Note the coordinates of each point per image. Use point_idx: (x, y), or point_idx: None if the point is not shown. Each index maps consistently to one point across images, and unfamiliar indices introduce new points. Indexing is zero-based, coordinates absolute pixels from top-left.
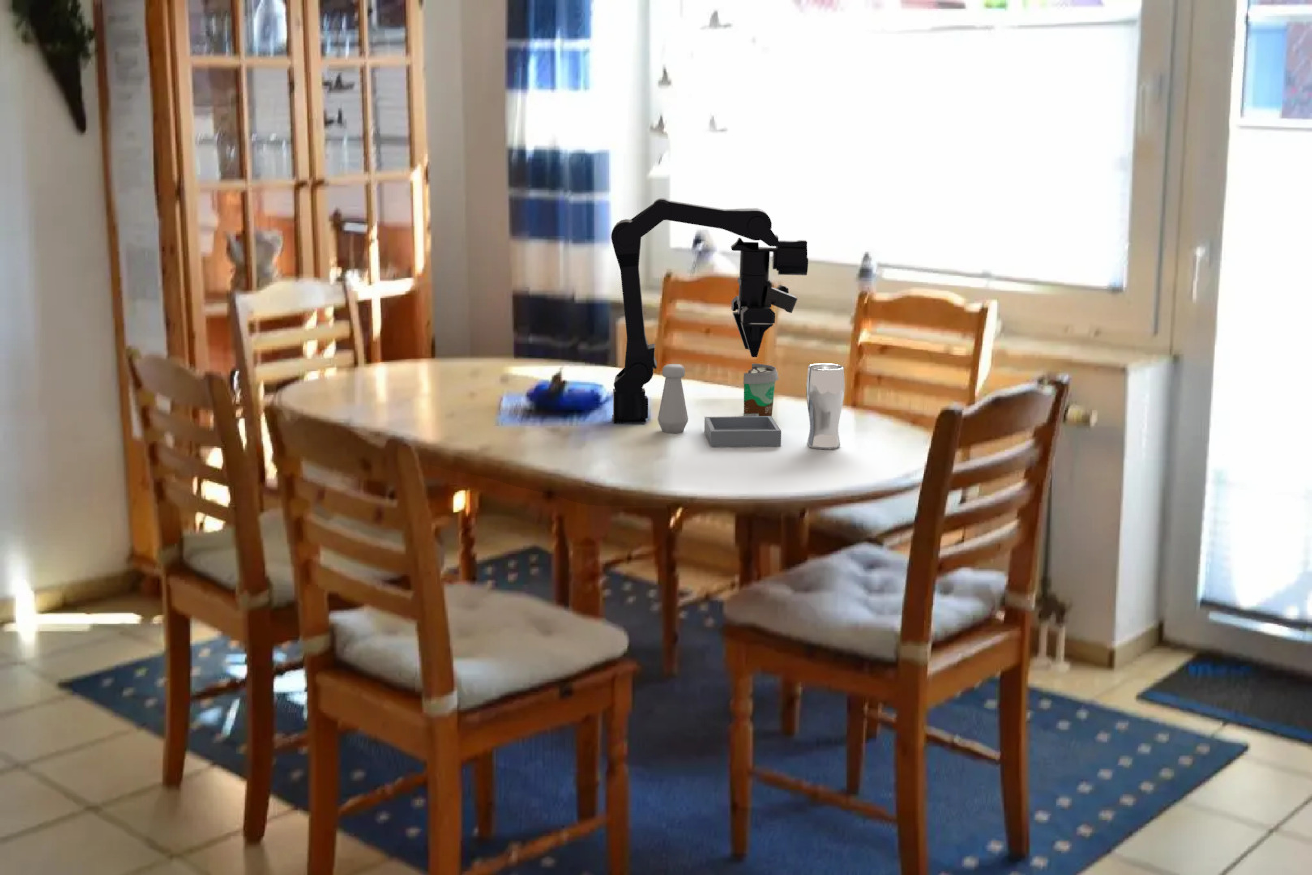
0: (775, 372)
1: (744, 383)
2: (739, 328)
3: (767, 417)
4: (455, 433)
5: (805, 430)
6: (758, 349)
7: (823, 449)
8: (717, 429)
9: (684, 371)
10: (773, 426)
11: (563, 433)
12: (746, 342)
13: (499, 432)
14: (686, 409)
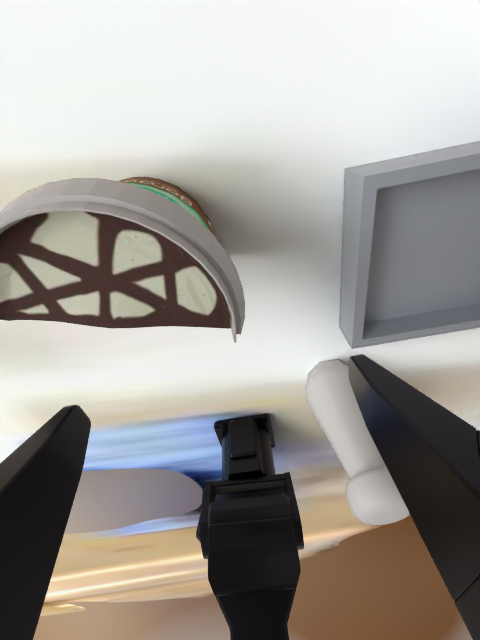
0: (100, 204)
1: (244, 315)
2: (44, 594)
3: (376, 190)
4: (326, 525)
5: (336, 22)
6: (404, 386)
7: None
8: (373, 307)
9: (392, 483)
10: None
11: (333, 471)
12: (73, 457)
13: (323, 507)
14: (345, 389)
